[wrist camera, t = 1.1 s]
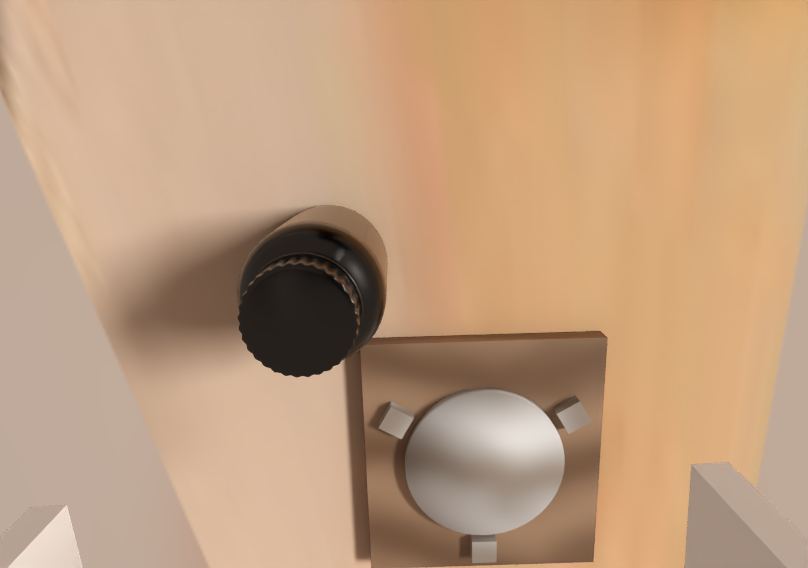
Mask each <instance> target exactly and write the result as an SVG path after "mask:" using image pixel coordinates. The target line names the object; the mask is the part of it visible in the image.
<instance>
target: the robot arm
mask: <svg viewBox="0 0 808 568" xmlns="http://www.w3.org/2000/svg"><path fill="white" fill-rule="evenodd" d="M0 568H83V567H82V563H81V559H80V555H79V551H78V547H77V543H76V539H75V535H74V531H73V527H72V524H71V520H70V516H69V512H68V509H67V505H57V506H42V507H31V508H29V509H28V510H27V511H26V512H25V513H24V514H23V515H22V516H21V517H20V518H19V519H18V520H17V521H16V522H15V523H14V524H13V525H12V526H11V527H10V528H9V529H8V530H7V531H6V532H5V533H4V534H3V535H2V536H0ZM684 568H808V537H807V536H805V535H804V534H803V533H802V532H801V531H800V530H799V529H798V528H797V527H796V526H795V525H794V524H793V523H792V522H791V521H789V519H788V518H787V517H785V516H784V515H783V514H782V513H781V512H780V511H779V510H778V509H777V508H776V507H775V506H774V505H773V504H772V503H771V502H770V501H769V500H768V499H767V498H765V496H763V495H762V494H761V493H760V492H759V491H758V490H757V489H756V488H755V487H754V486H753V485H752V484H751V483H750V482H749V481H748V480H747V479H746V478H745V477H744V476H743V475H741V474H740V473H739V472H738V471H737V470H736V469H735V468H734V467H733V466H732V465H731V464H730V463H729V462H720V463H705V464H691V477H690V492H689V506H688V521H687V536H686V551H685V566H684Z"/></svg>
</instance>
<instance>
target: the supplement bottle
mask: <svg viewBox="0 0 808 568" xmlns="http://www.w3.org/2000/svg"><path fill="white" fill-rule="evenodd" d="M386 291H387V254H386V249H385V246H384V243H383V241H382V238H381V237H380V235H379V233H378V231H377V230H376V229H375V227H374V226H373V225H372V224H371V223H370V222H369V221H368V220H367V219H366V218H365V217H363V216H362V215H360V214H359V213H357V212H355V211H353V210H351V209H348V208H345V207H340V206H334V205H324V206H317V207H313V208H309V209H307V210H304V211H302V212H301V213H299V214H297V215H295V216H294V217H292V218H291V219H289V220H288V221H287V222H285V223H284V224H282V225H281V226H279V227H278V228H277V229H275V230H274V231H272V232H271V233H269V234H268V235H267V236H266V237H264V238H263V239H262V240H261V241H260V242H259V243H258V244H257V245H256V246H255V247H254V248H253V250H252V251H251V252H250V253H249V255H248V257H247V258H246V260H245V262H244V264H243V266H242V269H241V272H240V276H239V280H238V290H237V295H238V305H239V311H240V313H239V315H238V320H239V323H240V325H239V330H240V332H241V333H242V340H243V341H244V342H245V343H246V344H247V349H248V350H249V351H250V352H251V353H253V355H254V357H255V359H257V360H259V361H261V362H262V364H263V365H264V366H265V367H268V368H271V369H272V370H273V371H274V372H278V373H282V374H283V375H285V376H289V375H292V376H294V377H300V376H305V377H309V376H311V375H313V374H315V375H320V374H321V373H322V372H324V371H328V370H331V369H332V367H333V366H335V365H338V364H340V362H341V361H342V360H344V359H346V358H348V357H350V356H352V355H353V354H355V353H356V352H358V351H359V350H360V349H362V348H363V347H364V346H365V345H366V344H367V343H368V342H369V341H370V339H371V338H372V337H373V335H374V334H375V332H376V331H377V329H378V327H379V325H380V323H381V320H382V317H383V314H384V309H385V304H386Z"/></svg>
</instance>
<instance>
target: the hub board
mask: <svg viewBox="0 0 808 568" xmlns="http://www.w3.org/2000/svg"><path fill="white" fill-rule="evenodd" d="M606 352H607V337H606V336H605V335H604V334H603V333H602V332H601V331H588V332H556V333H523V334H490V335H458V336H425V337H392V338H371V339H370V341H369V342H368V343H367V344H366V345H365V346H364V347H363V348H362V349H360V356H361V375H362V394H363V414H364V433H365V453H366V472H367V491H368V511H369V530H370V550H371V568H412V567H444V566H476V565H508V564H541V563H573V562H593V558H594V543H595V527H596V511H597V495H598V479H599V463H600V447H601V432H602V416H603V400H604V384H605V368H606Z"/></svg>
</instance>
